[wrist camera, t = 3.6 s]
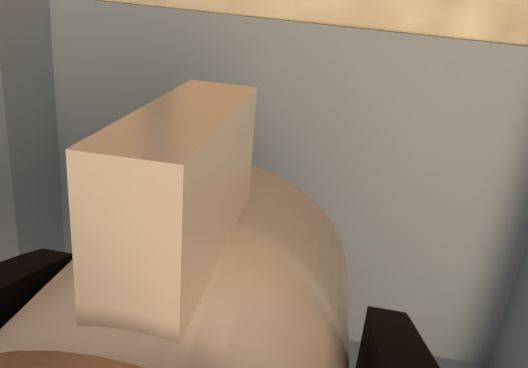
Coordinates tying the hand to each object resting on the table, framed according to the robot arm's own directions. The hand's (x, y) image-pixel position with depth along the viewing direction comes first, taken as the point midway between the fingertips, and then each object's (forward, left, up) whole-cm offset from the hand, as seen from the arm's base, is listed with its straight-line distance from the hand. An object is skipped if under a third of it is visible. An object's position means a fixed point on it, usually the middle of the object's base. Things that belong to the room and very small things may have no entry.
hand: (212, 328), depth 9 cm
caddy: (0, +1, -9) cm, 9 cm away
